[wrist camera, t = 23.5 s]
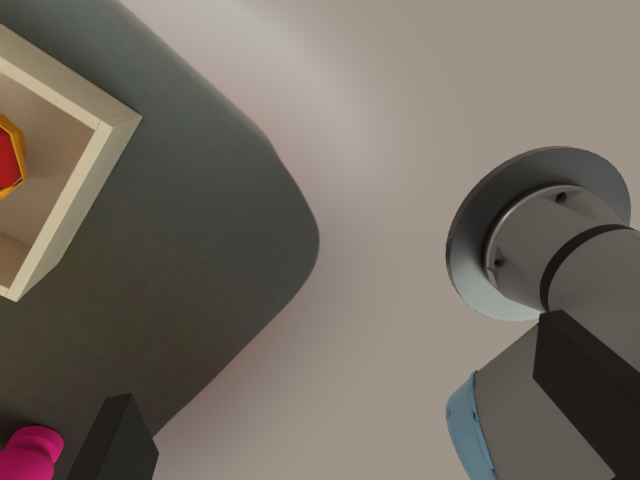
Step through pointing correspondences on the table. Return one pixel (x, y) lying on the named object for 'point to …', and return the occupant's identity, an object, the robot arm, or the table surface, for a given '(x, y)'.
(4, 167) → the potion bottle
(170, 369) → the table surface
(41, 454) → the pepper mill
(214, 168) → the table surface
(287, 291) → the table surface
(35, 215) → the cream open box
